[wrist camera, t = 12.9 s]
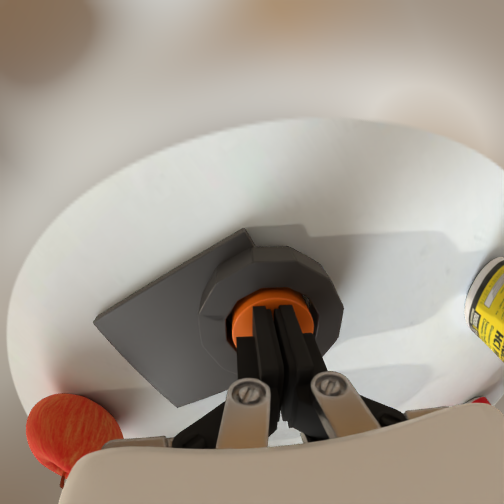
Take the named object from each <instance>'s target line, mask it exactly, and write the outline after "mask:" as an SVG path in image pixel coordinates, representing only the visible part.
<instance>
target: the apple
mask: <svg viewBox="0 0 504 504" xmlns="http://www.w3.org/2000/svg"><path fill="white" fill-rule="evenodd" d="M26 435H27V440H28V444H29V447H30V449H31V451H32V453H33V454H34V456H35V457H36V458H37V460H38V461H39V462H40V463H41V464H42V465H44V466H45V467H47V468H48V469H50V470H52V471H53V472H55V473H57V474H58V475H60V476H62V478H61V482H60V487H61V488H62V489H63V487H64V479H67V478H68V475H69V473H70V472H71V470H72V468H73V466H74V465H75V464H76V462H77V461H78V460H79V459H80V458H82V457H83V456H85V455H87V454H89V453H92V452H95V451H98V450H101V448H102V446H103V445H104V444H105V443H106V442H108V441H110V440H115V439H124V438H123V434H122V432H121V429H120V427H119V425H118V423H117V422H116V420H115V419H114V418H113V416H112V415H111V414H110V413H109V412H107V411H106V410H105V409H104V408H103V407H102V406H100V405H99V404H97V403H95V402H94V401H92V400H90V399H88V398H86V397H83V396H80V395H74V394H66V393H62V394H54V395H51V396H48V397H46V398H44V399H42V400H41V401H39V402H38V403H37V404H36V405H35V406H34V407H33V408H32V410H31V412H30V414H29V416H28V420H27V424H26Z"/></svg>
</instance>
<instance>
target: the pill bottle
mask: <svg viewBox="0 0 504 504" xmlns="http://www.w3.org/2000/svg"><path fill="white" fill-rule="evenodd" d="M464 315H465V321H466V323H467V325H468V326H469V328H470V329H471V330H472V331H473V332H474V333H475V334H476V335H477V336H478V337H479V338H480V339H481V340H482V341H483V342H484V343H485V344H486V345H487V346H488V347H489V348H490V349H491V350H492V351H493V352H494V353H495V354H496V355H497V356H498V357H499V358H500V359H501V360H502V361H503V362H504V257H498V258H495V259H493V260H492V261H490V262H489V263H488V264H487V265H486V266H485V267H484V268H483V269H482V270H481V272H480V273H479V274H478V276H477V277H476V279H475V280H474V282H473V284H472V286H471V288H470V290H469V292H468V295H467V298H466V303H465V310H464Z"/></svg>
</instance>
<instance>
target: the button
mask: <svg viewBox="0 0 504 504" xmlns="http://www.w3.org/2000/svg"><path fill="white" fill-rule="evenodd" d="M279 305H292V306H293V309H294V311H295V314H296V317H297V320H298V322H299V325H300V328H301V331H302V333H312V334H313V331H314V323H313V319H312V316H311V314H310V311H309V309H308V307H307V305H306V302H305V300H304V298H303V296H302V294H301V293H299V292H297V291H295V290H293V289H291V288H289V287H280V288H260V289H259V290H257V291H255V292H253V293H251V294H249V295H247V296H245V297H244V298H242V299H240V300H238V301H237V303H236V304H235V306H234V307H233V309H232V338H233V342H234V344H235V346H236V337H245V336H252V309H253V306H266V309H271V313H272V317H273V320H274V309H278V308H279ZM236 348H237V346H236Z"/></svg>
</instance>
